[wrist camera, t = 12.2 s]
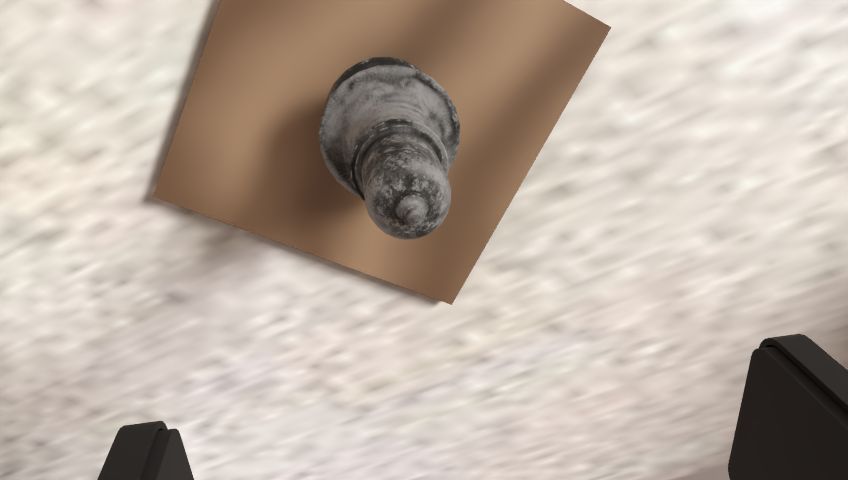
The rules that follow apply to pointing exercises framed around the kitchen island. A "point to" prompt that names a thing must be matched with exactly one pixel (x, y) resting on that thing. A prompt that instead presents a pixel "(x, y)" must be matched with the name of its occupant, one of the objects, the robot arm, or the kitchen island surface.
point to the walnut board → (308, 95)
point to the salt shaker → (392, 144)
